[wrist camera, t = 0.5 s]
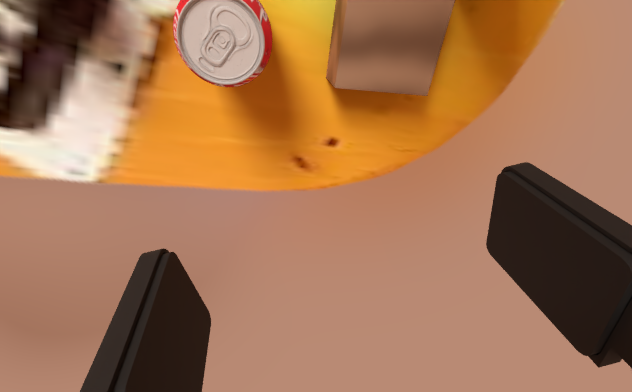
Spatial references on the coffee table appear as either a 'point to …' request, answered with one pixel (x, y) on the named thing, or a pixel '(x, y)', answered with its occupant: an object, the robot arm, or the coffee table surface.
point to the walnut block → (387, 44)
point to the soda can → (223, 39)
